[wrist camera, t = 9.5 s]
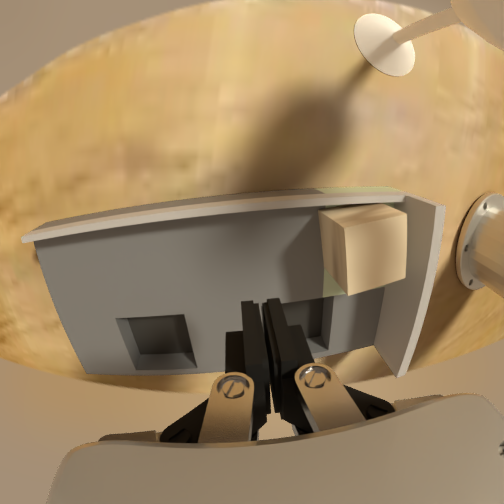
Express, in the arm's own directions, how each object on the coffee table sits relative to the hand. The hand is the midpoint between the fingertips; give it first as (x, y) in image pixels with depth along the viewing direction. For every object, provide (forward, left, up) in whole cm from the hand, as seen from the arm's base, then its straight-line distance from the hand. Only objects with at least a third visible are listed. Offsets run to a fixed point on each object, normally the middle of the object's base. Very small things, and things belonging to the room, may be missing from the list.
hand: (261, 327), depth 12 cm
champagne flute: (-14, -18, -11) cm, 25 cm away
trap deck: (+2, +3, -11) cm, 12 cm away
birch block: (-8, -1, -8) cm, 12 cm away
